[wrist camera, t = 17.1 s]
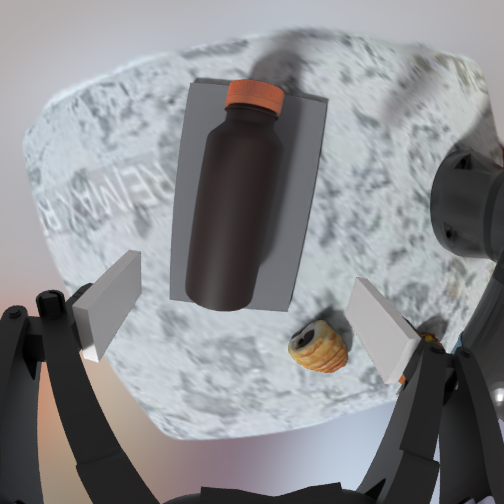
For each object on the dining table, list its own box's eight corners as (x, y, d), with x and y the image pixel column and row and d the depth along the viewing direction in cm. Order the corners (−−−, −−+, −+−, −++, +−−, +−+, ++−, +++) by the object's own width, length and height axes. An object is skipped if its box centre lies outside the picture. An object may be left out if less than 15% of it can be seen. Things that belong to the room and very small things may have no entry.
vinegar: (248, 284, 30) (285, 103, 24) (255, 317, 24) (305, 88, 18) (187, 276, 29) (219, 90, 23) (180, 308, 23) (219, 69, 17)
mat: (324, 104, 25) (326, 103, 24) (286, 308, 33) (287, 311, 32) (191, 84, 23) (190, 82, 23) (171, 296, 31) (169, 299, 30)
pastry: (355, 346, 36) (364, 362, 32) (320, 373, 37) (327, 390, 34) (318, 312, 33) (327, 330, 30) (280, 344, 35) (284, 363, 31)
